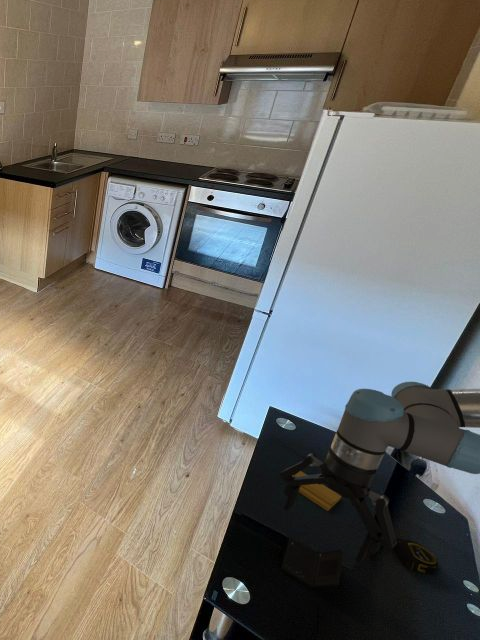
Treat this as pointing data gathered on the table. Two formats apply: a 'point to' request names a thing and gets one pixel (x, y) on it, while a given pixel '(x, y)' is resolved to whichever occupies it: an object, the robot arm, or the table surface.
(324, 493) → the block
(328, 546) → the table surface
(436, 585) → the table surface
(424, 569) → the tape measure
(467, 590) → the table surface
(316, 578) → the dark brown faceted prism
